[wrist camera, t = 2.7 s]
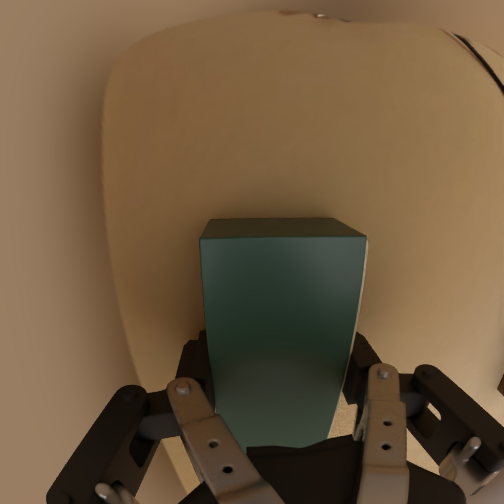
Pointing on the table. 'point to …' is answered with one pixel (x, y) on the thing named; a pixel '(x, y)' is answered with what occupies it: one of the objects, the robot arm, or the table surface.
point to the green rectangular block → (280, 323)
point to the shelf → (501, 386)
